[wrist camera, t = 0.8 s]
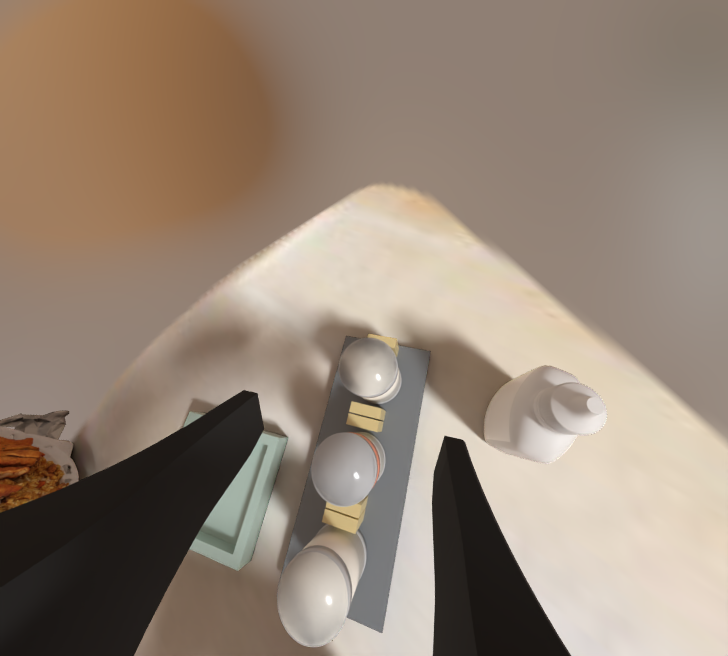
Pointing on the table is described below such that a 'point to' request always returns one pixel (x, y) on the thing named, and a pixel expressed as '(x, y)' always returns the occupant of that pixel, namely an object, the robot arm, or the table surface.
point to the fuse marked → (347, 467)
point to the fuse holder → (387, 497)
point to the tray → (241, 504)
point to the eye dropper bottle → (542, 414)
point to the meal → (33, 458)
